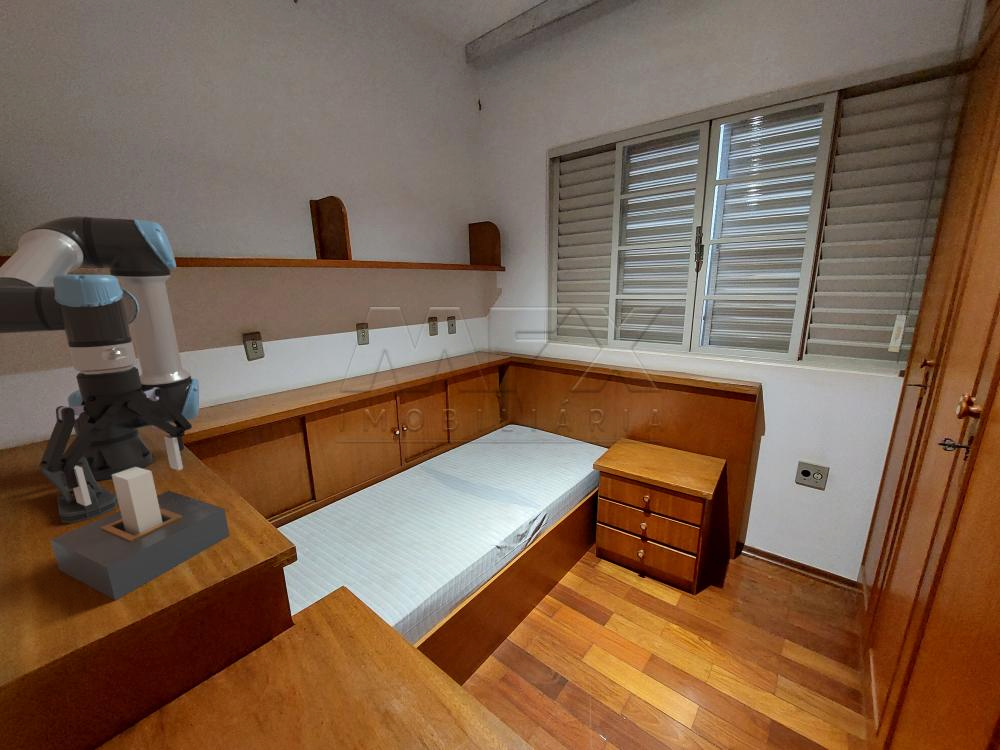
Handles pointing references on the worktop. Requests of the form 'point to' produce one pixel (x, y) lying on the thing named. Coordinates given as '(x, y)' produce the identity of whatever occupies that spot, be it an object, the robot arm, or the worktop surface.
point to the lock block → (139, 545)
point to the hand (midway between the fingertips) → (134, 484)
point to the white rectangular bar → (137, 499)
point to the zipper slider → (67, 501)
